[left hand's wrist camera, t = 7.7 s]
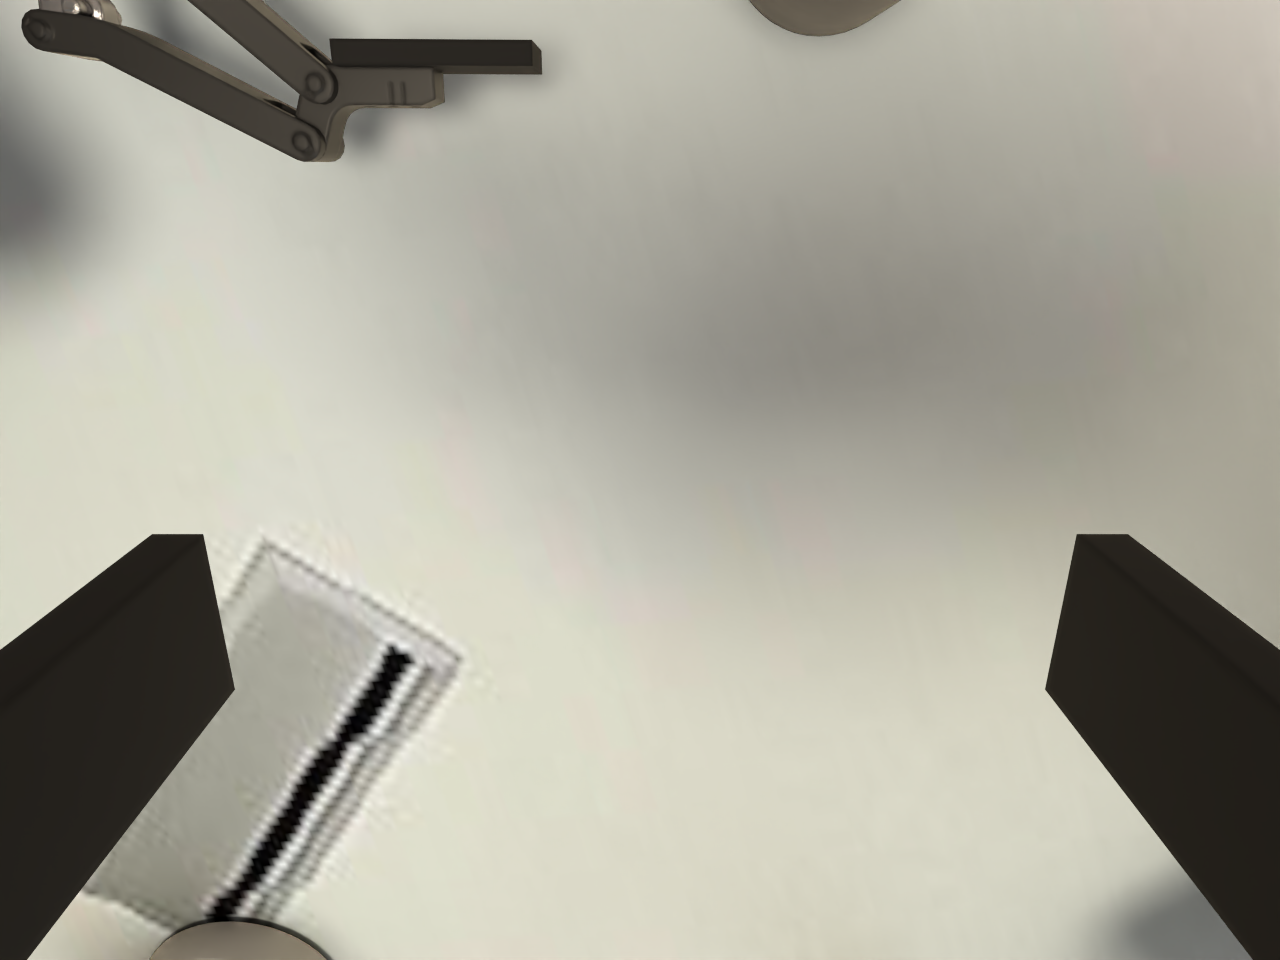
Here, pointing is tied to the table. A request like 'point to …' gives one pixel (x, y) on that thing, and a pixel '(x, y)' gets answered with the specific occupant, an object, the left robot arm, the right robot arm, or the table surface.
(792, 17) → the bottle
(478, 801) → the table surface
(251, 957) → the bust sculpture
